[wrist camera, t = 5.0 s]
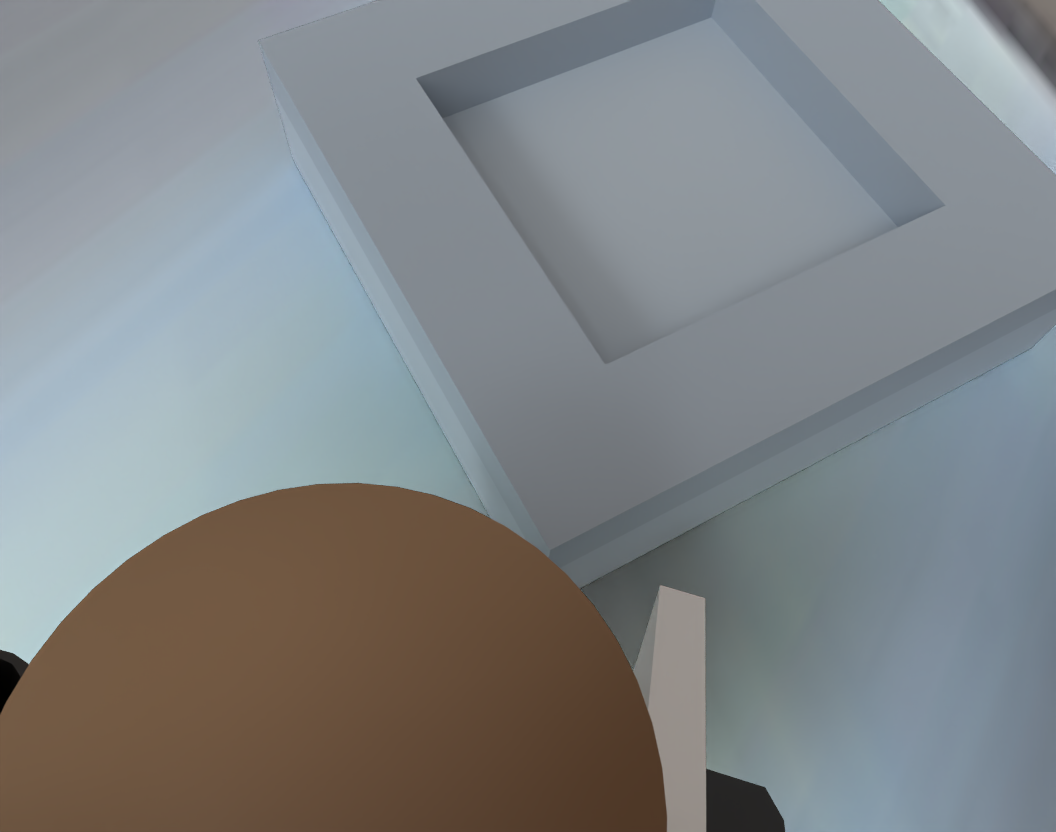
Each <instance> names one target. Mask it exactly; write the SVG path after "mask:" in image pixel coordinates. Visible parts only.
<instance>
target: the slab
mask: <svg viewBox="0 0 1056 832" xmlns="http://www.w3.org/2000/svg"><path fill="white" fill-rule="evenodd" d="M258 42H259V45H260V49H261V52H262V56H263V59H264V62H265V66H266V69H267V73H268V76H269V79H270V83H271V86H272V90H273V93H274V96H275V100H276V103H277V107H278V110H279V113H280V117H281V120H282V124H283V127H284V130H285V134H286V137H287V141H288V144H289V147H290V151H291V154H292V158H293V161H294V163H295V164H296V166H297V168H298V170H299V172H300V174H301V175H302V177H303V179H304V181H305V183H306V184H307V186H308V188H309V190H310V192H311V193H312V195H313V197H314V199H315V201H316V203H317V204H318V206H319V208H320V210H321V212H322V213H323V215H324V217H325V219H326V221H327V222H328V224H329V226H330V228H331V230H332V232H333V233H334V235H335V237H336V239H337V241H338V242H339V244H340V246H341V248H342V250H343V252H344V253H345V255H346V257H347V259H348V261H349V262H350V264H351V266H352V268H353V270H354V271H355V273H356V275H357V277H358V279H359V281H360V282H361V284H362V286H363V288H364V290H365V291H366V293H367V295H368V297H369V299H370V300H371V302H372V304H373V306H374V308H375V310H376V311H377V313H378V315H379V317H380V319H381V320H382V322H383V324H384V326H385V328H386V329H387V331H388V333H389V335H390V337H391V339H392V340H393V342H394V344H395V346H396V348H397V349H398V351H399V353H400V355H401V357H402V359H403V360H404V362H405V364H406V366H407V368H408V369H409V371H410V373H411V375H412V377H413V378H414V380H415V382H416V384H417V386H418V388H419V389H420V391H421V393H422V395H423V397H424V398H425V400H426V402H427V404H428V406H429V407H430V409H431V411H432V413H433V415H434V417H435V418H436V420H437V422H438V424H439V426H440V427H441V429H442V431H443V433H444V435H445V437H446V438H447V440H448V442H449V444H450V446H451V447H452V449H453V451H454V453H455V455H456V456H457V458H458V460H459V462H460V464H461V466H462V467H463V469H464V471H465V473H466V475H467V476H468V478H469V480H470V482H471V484H472V485H473V487H474V489H475V491H476V493H477V495H478V496H479V498H480V500H481V502H482V504H483V505H484V507H485V509H486V511H487V513H488V514H489V516H490V518H491V519H493V520H494V521H496V522H498V523H500V524H502V525H504V526H506V527H507V528H509V529H510V530H512V531H513V532H515V533H516V534H518V535H519V536H521V537H522V538H523V539H525V540H526V541H528V542H529V543H531V544H532V545H534V546H535V547H537V548H538V549H539V550H540V551H541V552H542V553H544V554H545V555H546V556H547V557H548V558H549V559H550V560H551V561H552V562H554V563H555V564H556V565H557V566H558V567H559V568H560V569H561V570H563V571H564V572H565V573H566V574H567V575H568V576H569V577H570V578H571V580H572V581H573V582H574V583H575V584H576V585H577V586H578V588H579V589H580V588H582V587H584V586H585V585H587V584H589V583H591V582H593V581H595V580H597V579H599V578H600V577H602V576H604V575H606V574H608V573H610V572H612V571H614V570H615V569H617V568H619V567H621V566H623V565H625V564H627V563H629V562H631V561H632V560H634V559H636V558H638V557H640V556H642V555H644V554H646V553H647V552H649V551H651V550H653V549H655V548H657V547H659V546H661V545H662V544H664V543H666V542H668V541H670V540H672V539H674V538H676V537H678V536H679V535H681V534H683V533H685V532H687V531H689V530H691V529H693V528H694V527H696V526H698V525H700V524H702V523H704V522H706V521H708V520H709V519H711V518H713V517H715V516H717V515H719V514H721V513H723V512H725V511H726V510H728V509H730V508H732V507H734V506H736V505H738V504H740V503H741V502H743V501H745V500H747V499H749V498H751V497H753V496H755V495H756V494H758V493H760V492H762V491H764V490H766V489H768V488H770V487H772V486H773V485H775V484H777V483H779V482H781V481H783V480H785V479H787V478H788V477H790V476H792V475H794V474H796V473H798V472H800V471H802V470H803V469H805V468H807V467H809V466H811V465H813V464H815V463H817V462H818V461H820V460H822V459H824V458H826V457H828V456H830V455H832V454H834V453H835V452H837V451H839V450H841V449H843V448H845V447H847V446H849V445H850V444H852V443H854V442H856V441H858V440H860V439H862V438H864V437H865V436H867V435H869V434H871V433H873V432H875V431H877V430H879V429H881V428H882V427H884V426H886V425H888V424H890V423H892V422H894V421H896V420H897V419H899V418H901V417H903V416H905V415H907V414H909V413H911V412H912V411H914V410H916V409H918V408H920V407H922V406H924V405H926V404H928V403H929V402H931V401H933V400H935V399H937V398H939V397H941V396H943V395H944V394H946V393H948V392H950V391H952V390H954V389H956V388H958V387H959V386H961V385H963V384H965V383H967V382H969V381H971V380H973V379H975V378H976V377H978V376H980V375H982V374H984V373H986V372H988V371H990V370H991V369H993V368H995V367H997V366H999V365H1001V364H1003V363H1005V362H1006V361H1008V360H1010V359H1012V358H1014V357H1016V356H1018V355H1020V354H1021V353H1023V352H1025V351H1027V350H1029V349H1031V348H1032V347H1033V346H1034V345H1035V344H1036V343H1037V342H1038V341H1039V340H1040V339H1041V338H1043V337H1044V336H1045V335H1046V334H1047V333H1048V332H1049V331H1050V330H1051V329H1052V328H1053V327H1054V326H1055V325H1056V175H1055V174H1054V173H1053V172H1052V171H1051V170H1050V169H1049V168H1048V167H1047V166H1046V165H1045V164H1044V163H1043V162H1042V161H1041V160H1040V159H1039V158H1038V157H1037V156H1036V155H1035V154H1034V153H1033V152H1032V151H1031V150H1030V149H1029V148H1028V147H1027V146H1026V145H1025V144H1024V143H1023V142H1022V141H1021V140H1020V139H1019V138H1018V137H1017V136H1016V135H1015V134H1014V133H1013V132H1012V131H1011V130H1010V129H1008V128H1007V127H1006V126H1005V125H1004V124H1003V123H1002V122H1001V121H1000V120H999V119H998V118H997V117H996V116H995V115H994V114H993V113H992V112H991V111H990V110H989V109H988V108H987V107H986V106H985V105H984V104H983V103H982V102H981V101H980V100H979V99H978V98H977V97H976V96H975V95H974V94H973V93H972V92H971V91H970V90H969V89H968V88H967V87H966V86H965V85H964V84H963V83H962V82H961V81H960V80H959V79H958V78H957V77H956V76H955V75H954V74H953V73H952V72H951V71H950V70H949V69H948V68H947V67H946V66H945V65H944V64H943V63H942V62H941V61H940V60H939V59H937V58H936V57H935V56H934V55H933V54H932V53H931V52H930V51H929V50H928V49H927V48H926V47H925V46H924V45H923V44H922V43H921V42H920V41H919V40H918V39H917V38H916V37H915V36H914V35H913V34H912V33H911V32H910V31H909V30H908V29H907V28H906V27H905V26H904V25H903V24H902V23H901V22H900V21H899V20H898V19H897V18H896V17H895V16H894V15H893V14H892V13H891V12H890V11H889V10H888V9H887V8H886V7H885V6H884V5H883V4H882V3H881V2H880V1H879V0H377V1H374V2H371V3H368V4H365V5H362V6H359V7H356V8H353V9H350V10H347V11H344V12H341V13H338V14H335V15H332V16H329V17H326V18H323V19H320V20H317V21H314V22H311V23H308V24H305V25H302V26H299V27H296V28H293V29H290V30H287V31H284V32H281V33H278V34H275V35H272V36H270V37H267V38H264V39H261V40H258Z"/></svg>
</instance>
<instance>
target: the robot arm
mask: <svg viewBox="0 0 1056 832" xmlns="http://www.w3.org/2000/svg"><path fill="white" fill-rule="evenodd" d="M28 666H29V664H28V663H26V662H25V661H23V660H22V659H21V658H19V657H18V656H16V655H15V654H13V653H10V652H6V651H2V650H0V714H1V712H2V710H3V708H4V706H5V704H6V702H7V700H8V698H9V697H10V695H11V693H12V692H13V690H14V688H15V687H16V685H17V684H18V682H19V680H20V679H21V677H22V675H23V674H24V672H25V671H26V669H27V667H28ZM633 673H634V675H635V677H636V679H637V681H638V684H639V687H640V689H641V692H642V695H643V698H644V701H645V704H646V706H647V709H648V712H649V715H650V718H651V720H652V724H653V728H654V733H655V737H656V742H657V746H658V751H659V755H660V760H661V764H662V769H663V779H664V790H665V800H666V810H667V832H785V827H784V820H783V818H782V816H781V814H780V813H779V811H778V809H777V807H776V806H775V804H774V802H773V800H772V799H771V797H770V795H769V794H768V792H767V790H766V788H765V787H762V786H759V785H756V784H753V783H749V782H746V781H743V780H740V779H737V778H733V777H730V776H727V775H724V774H721V773H718V772H714V771H711V770H708V769H706V667H705V598H703V597H700V596H696V595H693V594H690V593H686V592H683V591H679V590H676V589H673V588H669V587H666V586H662V585H660V587H659V590H658V593H657V597H656V600H655V603H654V606H653V609H652V613H651V616H650V619H649V622H648V625H647V629H646V632H645V635H644V638H643V642H642V645H641V648H640V651H639V654H638V658H637V661H636V664H635V667H634V670H633Z"/></svg>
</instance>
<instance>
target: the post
mask: <svg viewBox="0 0 1056 832" xmlns="http://www.w3.org/2000/svg"><path fill="white" fill-rule="evenodd" d="M0 832H667V810H666V800H665V790H664V779H663V769H662V764H661V760H660V755H659V751H658V746H657V742H656V737H655V733H654V728H653V724H652V720H651V718H650V715H649V712H648V709H647V706H646V704H645V701H644V698H643V695H642V692H641V689H640V687H639V684H638V681H637V679H636V677H635V675H634V673H633V671H632V669H631V667H630V665H629V663H628V661H627V659H626V657H625V655H624V653H623V651H622V649H621V647H620V645H619V643H618V641H617V639H616V638H615V636H614V635H613V633H612V632H611V630H610V629H609V627H608V626H607V624H606V623H605V621H604V620H603V618H602V617H601V615H600V614H599V612H598V611H597V609H596V608H595V606H594V605H593V604H592V603H591V601H590V600H589V599H588V598H587V597H586V596H585V595H584V593H583V592H582V591H581V590H580V589H579V588H578V586H577V585H576V584H575V583H574V582H573V581H572V580H571V578H570V577H569V576H568V575H567V574H566V573H565V572H564V571H563V570H561V569H560V568H559V567H558V566H557V565H556V564H555V563H554V562H552V561H551V560H550V559H549V558H548V557H547V556H546V555H545V554H544V553H542V552H541V551H540V550H539V549H538V548H537V547H535V546H534V545H532V544H531V543H529V542H528V541H526V540H525V539H523V538H522V537H521V536H519V535H518V534H516V533H515V532H513V531H512V530H510V529H509V528H507V527H506V526H504V525H502V524H500V523H498V522H496V521H494V520H493V519H491V518H489V517H487V516H485V515H483V514H481V513H479V512H477V511H475V510H473V509H471V508H468V507H466V506H463V505H460V504H457V503H455V502H452V501H449V500H446V499H443V498H441V497H438V496H435V495H431V494H427V493H422V492H418V491H413V490H409V489H404V488H400V487H394V486H383V485H373V484H362V483H342V484H316V485H309V486H302V487H295V488H289V489H282V490H277V491H273V492H269V493H266V494H262V495H258V496H254V497H251V498H247V499H243V500H240V501H237V502H235V503H232V504H229V505H227V506H224V507H222V508H219V509H217V510H214V511H212V512H209V513H206V514H204V515H201V516H200V517H198V518H196V519H194V520H192V521H190V522H188V523H186V524H184V525H182V526H181V527H179V528H177V529H175V530H173V531H171V532H169V533H167V534H165V535H163V536H162V537H161V538H159V539H158V540H156V541H155V542H153V543H152V544H150V545H149V546H147V547H146V548H144V549H143V550H141V551H140V552H138V553H137V554H135V555H134V556H132V557H131V558H129V559H128V560H127V561H125V562H124V563H123V564H122V565H121V566H120V567H118V568H117V569H116V570H115V571H114V572H112V573H111V574H110V575H109V576H108V577H107V578H105V579H104V580H103V581H102V582H101V583H99V584H98V585H97V586H96V587H95V588H94V589H92V590H91V592H90V593H89V594H88V595H87V596H86V597H85V598H84V599H83V600H82V601H81V602H80V603H79V604H78V605H77V606H76V607H75V608H74V609H73V610H72V611H71V612H70V613H69V615H68V616H67V617H66V618H65V619H64V620H63V621H62V622H61V623H60V624H59V626H58V627H57V628H56V629H55V631H54V632H53V633H52V635H51V636H50V637H49V639H48V640H47V641H46V642H45V644H44V645H43V646H42V648H41V649H40V650H39V652H38V653H37V654H36V655H35V657H34V658H33V659H32V661H31V662H30V664H29V666H28V667H27V669H26V671H25V672H24V674H23V675H22V677H21V679H20V680H19V682H18V684H17V685H16V687H15V688H14V690H13V692H12V693H11V695H10V697H9V698H8V700H7V702H6V704H5V706H4V708H3V710H2V712H1V714H0Z"/></svg>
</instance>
